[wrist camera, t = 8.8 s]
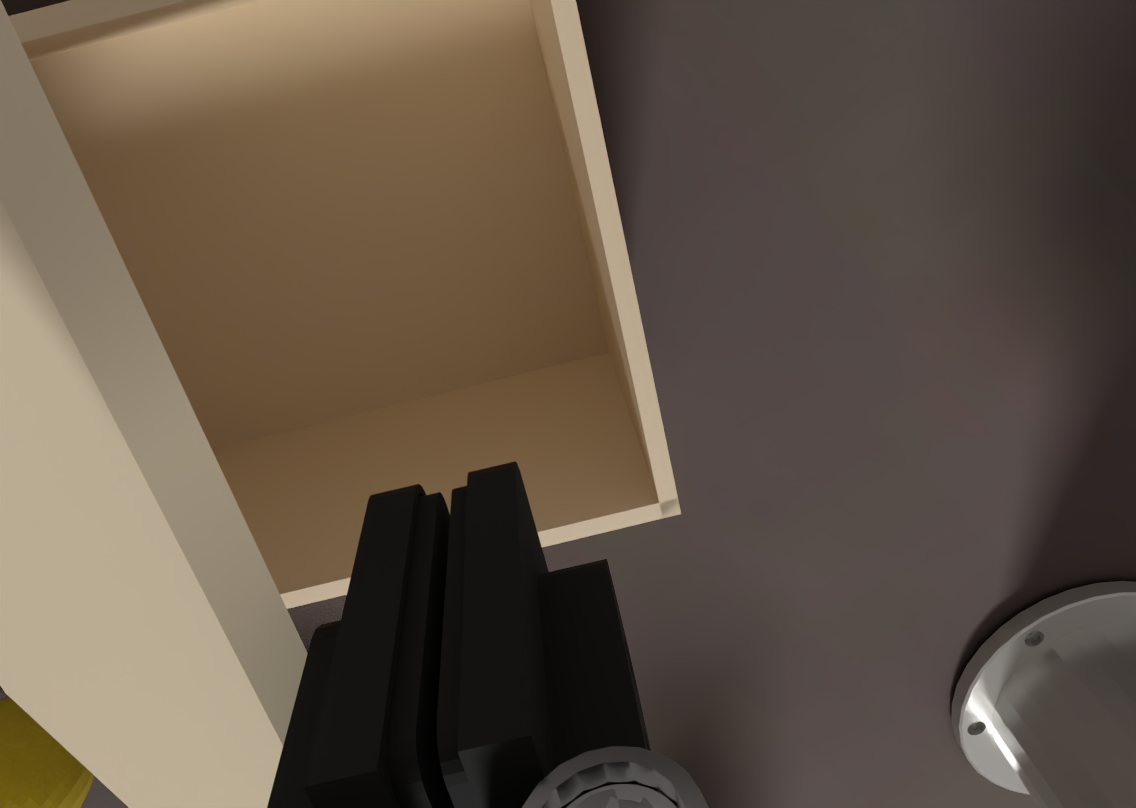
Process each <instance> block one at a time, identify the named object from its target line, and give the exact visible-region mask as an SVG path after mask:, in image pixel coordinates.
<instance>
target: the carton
mask: <svg viewBox="0 0 1136 808" xmlns="http://www.w3.org/2000/svg"><path fill="white" fill-rule="evenodd" d="M8 17H9V19H10V21H11V23H12V25H13V27H14V29H15V31H16V34H17V36H18V38H19V40H20V42H21V44H22V46H23V48H24V51H25V53H26V55H27V57H28V59H29V61H30V63H31V65H32V68H33V70H34V72H35V74H36V76H37V78H38V80H39V83H40V85H41V87H42V89H43V91H44V93H45V95H46V97H47V100H48V102H49V104H50V106H51V108H52V110H53V112H54V114H55V117H56V119H57V121H58V123H59V125H60V127H61V129H62V132H63V134H64V136H65V138H66V140H67V142H68V144H69V146H70V149H71V151H72V153H73V155H74V157H75V159H76V161H77V163H78V166H79V168H80V170H81V172H82V174H83V176H84V178H85V180H86V183H87V185H88V187H89V189H90V191H91V193H92V195H93V198H94V200H95V202H96V204H97V206H98V208H99V210H100V212H101V215H102V217H103V219H104V221H105V223H106V225H107V227H108V229H109V232H110V234H111V236H112V238H113V240H114V242H115V244H116V247H117V249H118V251H119V253H120V255H121V257H122V259H123V261H124V264H125V266H126V268H127V270H128V272H129V274H130V276H131V278H132V281H133V283H134V285H135V287H136V289H137V291H138V293H139V296H140V298H141V300H142V302H143V304H144V306H145V308H146V310H147V313H148V315H149V317H150V319H151V321H152V323H153V325H154V327H155V330H156V332H157V334H158V336H159V338H160V340H161V342H162V344H163V347H164V349H165V351H166V353H167V355H168V357H169V359H170V362H171V364H172V366H173V368H174V370H175V372H176V374H177V376H178V379H179V381H180V383H181V385H182V387H183V389H184V391H185V393H186V396H187V398H188V400H189V402H190V404H191V406H192V408H193V411H194V413H195V415H196V417H197V419H198V421H199V423H200V425H201V428H202V430H203V432H204V434H205V436H206V438H207V440H208V442H209V445H210V447H211V449H212V451H213V453H214V455H215V457H216V460H217V462H218V464H219V466H220V468H221V470H222V472H223V474H224V477H225V479H226V481H227V483H228V485H229V487H230V489H231V491H232V494H233V496H234V498H235V500H236V502H237V504H238V506H239V508H240V511H241V513H242V515H243V517H244V519H245V521H246V523H247V526H248V528H249V530H250V532H251V534H252V536H253V538H254V540H255V543H256V545H257V547H258V549H259V551H260V553H261V555H262V557H263V560H264V562H265V564H266V566H267V568H268V570H269V572H270V575H271V577H272V579H273V581H274V583H275V585H276V587H277V589H278V592H279V594H280V596H281V598H282V600H283V602H284V604H285V606H286V609H288V608H293V607H297V606H301V605H305V604H309V603H313V602H317V601H322V600H326V599H330V598H334V597H338V596H342V595H347V592H348V588H349V583H350V579H351V574H352V570H353V565H354V561H355V556H356V552H357V548H358V543H359V539H360V534H361V530H362V525H363V521H364V517H365V512H366V508H367V503H368V500H369V497H370V495H373V494H377V493H382V492H386V491H390V490H395V489H399V488H403V487H408V486H412V485H416V484H420V485H421V486H422V487H423V489H424V491H425V493H426V495H429V494H433V493H438V492H440V493H442V495H443V497H444V499H445V502H446V504H447V507H448V510H449V513H450V510H451V494H452V489H455V488H459V487H463V486H467V476H468V472H472V471H476V470H480V469H484V468H489V467H493V466H497V465H502V464H506V463H510V462H515V461H516V462H517V464H518V467H519V469H520V473H521V476H522V479H523V483H524V486H525V490H526V493H527V497H528V501H529V504H530V508H531V511H532V515H533V518H534V522H535V526H536V529H537V533H538V536H539V540H540V543H541V547H546V546H550V545H554V544H558V543H562V542H566V541H571V540H575V539H579V538H583V537H587V536H591V535H596V534H600V533H604V532H608V531H612V530H616V529H620V528H625V527H629V526H633V525H637V524H641V523H645V522H649V521H654V520H658V519H662V518H666V517H670V516H674V515H679V514H681V512H680V507H679V502H678V497H677V492H676V487H675V482H674V477H673V472H672V468H671V463H670V458H669V453H668V448H667V443H666V438H665V433H664V429H663V424H662V419H661V414H660V409H659V404H658V399H657V394H656V389H655V385H654V380H653V375H652V370H651V365H650V360H649V355H648V350H647V346H646V341H645V336H644V331H643V326H642V321H641V316H640V311H639V306H638V302H637V297H636V292H635V287H634V282H633V277H632V272H631V267H630V262H629V258H628V253H627V248H626V243H625V238H624V233H623V228H622V223H621V219H620V214H619V209H618V204H617V199H616V194H615V189H614V184H613V179H612V175H611V170H610V165H609V160H608V155H607V150H606V145H605V140H604V136H603V131H602V126H601V121H600V116H599V111H598V106H597V101H596V96H595V92H594V87H593V82H592V77H591V72H590V67H589V62H588V57H587V53H586V48H585V43H584V38H583V33H582V28H581V23H580V18H579V13H578V9H577V4H576V0H69V1H65V2H61V3H58V4H54V5H50V6H46V7H42V8H38V9H34V10H30V11H27V12H23V13H19V14H15V15H11V16H8Z"/></svg>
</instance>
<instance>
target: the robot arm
mask: <svg viewBox="0 0 1136 808" xmlns="http://www.w3.org/2000/svg"><path fill="white" fill-rule="evenodd" d="M951 723H952V727H953V731H954V735H955V738H956V740H957V742H958V744H959V746H960V747H961V749H962V751H963V753H964V754H965V756H966V758H967V759H968V761H969V762H970V763H971V764H972V766H973V767H974V768H975V769H976V771H977V772H978V773H979V774H981V775H982V776H983V777H985V778H986V779H988V780H989V781H990V782H992V783H994V784H996V785H998V786H1001V787H1003V788H1005V789H1008V790H1011V791H1015V792H1019V793H1023V794H1030V795H1031V797H1032V798H1033V800H1034V801H1035V802H1036V804H1037V805H1038V807H1039V808H1136V582H1130V581H1115V582H1103V583H1095V584H1090V585H1086V586H1082V587H1078V588H1073V589H1069V590H1067V591H1064V592H1062V593H1059V594H1056V595H1054V596H1051V597H1049V598H1046V599H1044V600H1042V601H1040V602H1038V603H1036V604H1035V605H1033V606H1031V607H1029V608H1027V609H1025V610H1024V611H1022V612H1020V613H1019V614H1017V615H1016V616H1015V617H1013V618H1012V619H1011V620H1009V621H1008V622H1007V623H1005V624H1004V625H1002V626H1001V627H1000V628H999V629H998V630H997V631H996V632H995V633H994V634H993V635H991V636H990V637H989V638H988V639H987V640H986V641H985V642H984V643H983V644H982V645H981V647H980V648H979V649H978V651H977V652H976V653H975V655H974V656H973V657H972V659H971V660H970V661H969V663H968V664H967V666H966V667H965V670H964V672H963V674H962V676H961V678H960V680H959V682H958V684H957V686H956V690H955V694H954V697H953V701H952V716H951ZM267 808H709V807H708V805H707V803H706V801H705V799H704V797H703V795H702V792H701V791H700V789H699V788H698V786H697V785H696V784H695V782H694V781H693V779H692V778H691V776H690V775H689V774H688V772H687V771H686V770H685V769H684V768H682V767H681V766H679V765H678V764H677V763H675V762H674V761H672V760H671V759H670V758H668V757H667V756H665V755H663V754H659V753H656V752H653V751H651V750H650V745H649V740H648V736H647V731H646V727H645V722H644V717H643V713H642V708H641V703H640V699H639V694H638V689H637V685H636V680H635V676H634V671H633V667H632V662H631V658H630V654H629V649H628V645H627V641H626V636H625V632H624V628H623V624H622V619H621V615H620V611H619V607H618V603H617V599H616V595H615V590H614V586H613V582H612V578H611V574H610V570H609V566H608V562H607V559H604V560H600V561H596V562H591V563H587V564H583V565H578V566H574V567H570V568H565V569H561V570H557V571H552V572H548V568H547V565H546V561H545V558H544V554H543V551H542V547H541V543H540V540H539V536H538V533H537V529H536V526H535V522H534V518H533V515H532V511H531V508H530V504H529V501H528V497H527V493H526V490H525V486H524V483H523V479H522V476H521V473H520V469H519V467H518V464H517V462H516V461H515V462H510V463H506V464H502V465H497V466H493V467H489V468H484V469H480V470H476V471H472V472H468V476H467V486H463V487H459V488H455V489H452V494H451V510H450V513H449V510H448V507H447V504H446V502H445V499H444V497H443V495H442V493H440V492H438V493H433V494H429V495H426V493H425V491H424V489H423V487H422V486H421V485H420V484H416V485H412V486H408V487H403V488H399V489H395V490H390V491H386V492H382V493H377V494H373V495H370V497H369V500H368V503H367V508H366V512H365V517H364V521H363V525H362V530H361V534H360V539H359V543H358V548H357V552H356V556H355V561H354V565H353V570H352V574H351V579H350V583H349V588H348V592H347V596H346V601H345V605H344V610H343V614H342V619H341V620H340V621H336V622H332V623H327V624H323V625H321V626H319V627H318V628H317V629H316V630H315V632H314V635H313V637H312V639H311V643H310V647H309V650H308V654H307V658H306V662H305V666H304V669H303V673H302V677H301V681H300V685H299V688H298V692H297V696H296V700H295V703H294V707H293V711H292V715H291V719H290V722H289V726H288V730H287V734H286V738H285V741H284V745H283V749H282V753H281V756H280V760H279V764H278V768H277V772H276V775H275V779H274V783H273V787H272V791H271V794H270V798H269V802H268V806H267Z"/></svg>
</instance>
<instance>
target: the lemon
mask: <svg viewBox="0 0 1136 808" xmlns="http://www.w3.org/2000/svg"><path fill="white" fill-rule="evenodd" d="M93 778H94V775H93V774H92V773H91V772H90V771H89V770H88V769H87V768H86V767H85V766H84V765H83V764H81V763H80V762H79V761H78V760H77V759H76V758H75V757H74V756H73V755H72V754H71V753H70V752H68V751H67V750H66V749H65V748H64V747H63V746H62V745H61V744H60V743H59V742H58V741H57V740H56V739H54V738H53V737H52V736H51V735H50V734H49V733H48V732H47V731H46V730H45V729H44V728H43V727H41V726H40V725H39V724H38V723H37V722H36V721H35V720H34V719H33V718H32V717H31V716H30V715H29V714H27V713H26V712H25V711H24V710H23V709H22V708H21V707H20V706H19V705H18V704H17V703H16V702H14V701H13V700H12V699H11V698H10V697H6V698H4V699H1V700H0V808H80V807H81V805H82V803H83V801H84V799H85V797H86V795H87V793H88V791H89V789H90V787H91V784H92V781H93Z"/></svg>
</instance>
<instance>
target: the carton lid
mask: <svg viewBox="0 0 1136 808" xmlns="http://www.w3.org/2000/svg"><path fill="white" fill-rule="evenodd" d="M307 654H308V653H307V651H306V649H305V647H304V645H303V643H302V641H301V638H300V636H299V634H298V632H297V630H296V628H295V626H294V624H293V621H292V619H291V617H290V615H289V613H288V611H287V609H286V606H285V604H284V602H283V600H282V598H281V596H280V594H279V592H278V589H277V587H276V585H275V583H274V581H273V579H272V577H271V575H270V572H269V570H268V568H267V566H266V564H265V562H264V560H263V557H262V555H261V553H260V551H259V549H258V547H257V545H256V543H255V540H254V538H253V536H252V534H251V532H250V530H249V528H248V526H247V523H246V521H245V519H244V517H243V515H242V513H241V511H240V508H239V506H238V504H237V502H236V500H235V498H234V496H233V494H232V491H231V489H230V487H229V485H228V483H227V481H226V479H225V477H224V474H223V472H222V470H221V468H220V466H219V464H218V462H217V460H216V457H215V455H214V453H213V451H212V449H211V447H210V445H209V442H208V440H207V438H206V436H205V434H204V432H203V430H202V428H201V425H200V423H199V421H198V419H197V417H196V415H195V413H194V411H193V408H192V406H191V404H190V402H189V400H188V398H187V396H186V393H185V391H184V389H183V387H182V385H181V383H180V381H179V379H178V376H177V374H176V372H175V370H174V368H173V366H172V364H171V362H170V359H169V357H168V355H167V353H166V351H165V349H164V347H163V344H162V342H161V340H160V338H159V336H158V334H157V332H156V330H155V327H154V325H153V323H152V321H151V319H150V317H149V315H148V313H147V310H146V308H145V306H144V304H143V302H142V300H141V298H140V296H139V293H138V291H137V289H136V287H135V285H134V283H133V281H132V278H131V276H130V274H129V272H128V270H127V268H126V266H125V264H124V261H123V259H122V257H121V255H120V253H119V251H118V249H117V247H116V244H115V242H114V240H113V238H112V236H111V234H110V232H109V229H108V227H107V225H106V223H105V221H104V219H103V217H102V215H101V212H100V210H99V208H98V206H97V204H96V202H95V200H94V198H93V195H92V193H91V191H90V189H89V187H88V185H87V183H86V180H85V178H84V176H83V174H82V172H81V170H80V168H79V166H78V163H77V161H76V159H75V157H74V155H73V153H72V151H71V149H70V146H69V144H68V142H67V140H66V138H65V136H64V134H63V132H62V129H61V127H60V125H59V123H58V121H57V119H56V117H55V114H54V112H53V110H52V108H51V106H50V104H49V102H48V100H47V97H46V95H45V93H44V91H43V89H42V87H41V85H40V83H39V80H38V78H37V76H36V74H35V72H34V70H33V68H32V65H31V63H30V61H29V59H28V57H27V55H26V53H25V51H24V48H23V46H22V44H21V42H20V40H19V38H18V36H17V34H16V31H15V29H14V27H13V25H12V23H11V21H10V19H9V17H8V14H7V12H6V10H5V8H4V6H3V4H2V2H1V0H0V686H1V687H2V689H3V690H4V692H5V693H6V694H7V695H8V696H9V697H10V698H11V699H12V700H13V701H14V702H16V703H17V704H18V705H19V706H20V707H21V708H22V709H23V710H24V711H25V712H26V713H27V714H29V715H30V716H31V717H32V718H33V719H34V720H35V721H36V722H37V723H38V724H39V725H40V726H41V727H43V728H44V729H45V730H46V731H47V732H48V733H49V734H50V735H51V736H52V737H53V738H54V739H56V740H57V741H58V742H59V743H60V744H61V745H62V746H63V747H64V748H65V749H66V750H67V751H68V752H70V753H71V754H72V755H73V756H74V757H75V758H76V759H77V760H78V761H79V762H80V763H81V764H83V765H84V766H85V767H86V768H87V769H88V770H89V771H90V772H91V773H92V774H93V775H94V776H95V777H97V778H98V779H99V780H100V781H101V782H102V783H103V784H104V785H105V786H106V787H107V788H108V789H110V790H111V791H112V792H113V793H114V794H115V795H116V796H117V797H118V798H119V799H120V800H121V801H123V802H124V803H125V804H126V805H127V806H128V807H129V808H267V806H268V802H269V798H270V794H271V791H272V787H273V783H274V779H275V775H276V772H277V768H278V764H279V760H280V756H281V753H282V749H283V745H284V741H285V738H286V734H287V730H288V726H289V722H290V719H291V715H292V711H293V707H294V703H295V700H296V696H297V692H298V688H299V685H300V681H301V677H302V673H303V669H304V666H305V662H306V658H307Z"/></svg>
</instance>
